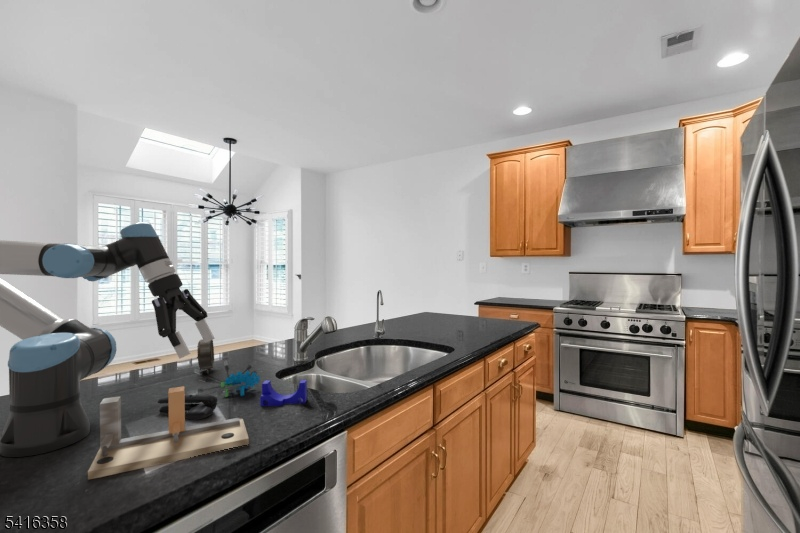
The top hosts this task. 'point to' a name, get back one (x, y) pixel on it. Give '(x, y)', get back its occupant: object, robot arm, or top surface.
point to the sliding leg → (176, 411)
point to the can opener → (195, 405)
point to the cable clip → (275, 399)
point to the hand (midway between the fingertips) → (198, 348)
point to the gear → (240, 382)
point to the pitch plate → (157, 442)
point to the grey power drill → (205, 355)
